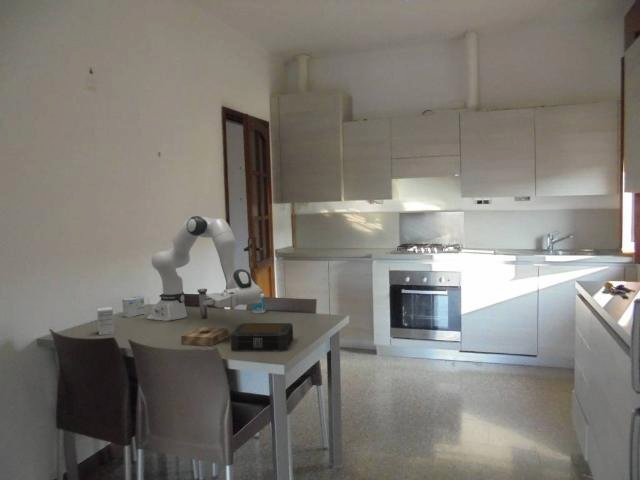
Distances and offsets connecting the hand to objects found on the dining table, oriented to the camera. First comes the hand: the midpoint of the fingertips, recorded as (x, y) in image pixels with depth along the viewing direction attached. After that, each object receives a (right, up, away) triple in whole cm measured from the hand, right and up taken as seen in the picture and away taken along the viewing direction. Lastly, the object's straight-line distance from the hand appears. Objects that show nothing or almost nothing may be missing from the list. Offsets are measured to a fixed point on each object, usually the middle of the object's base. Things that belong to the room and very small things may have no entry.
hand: (201, 302), depth 232 cm
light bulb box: (-54, -16, +57) cm, 80 cm away
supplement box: (-54, -19, +20) cm, 60 cm away
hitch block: (+2, -18, 0) cm, 18 cm away
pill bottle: (+21, -13, +55) cm, 60 cm away
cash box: (+30, -19, -9) cm, 37 cm away
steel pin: (+1, -8, +1) cm, 8 cm away
